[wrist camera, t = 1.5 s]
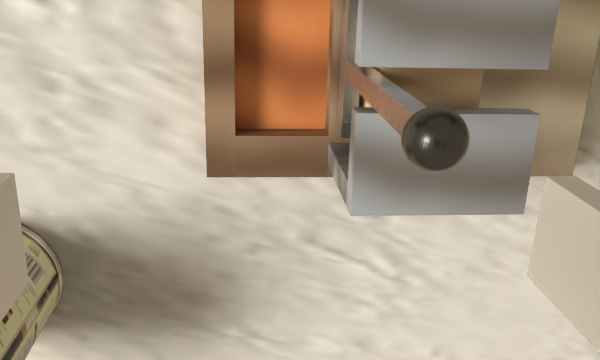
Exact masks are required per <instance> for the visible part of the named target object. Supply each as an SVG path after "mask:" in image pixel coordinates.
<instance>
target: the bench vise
mask: <svg viewBox="0 0 600 360" xmlns="http://www.w3.org/2000/svg"><path fill="white" fill-rule="evenodd" d="M343 1H344V0H202V12H203V49H204V86H205V123H206V159H207V177H334V179H335V181H336V184H337V186H338V188H339V190H340V193H341V195H342V197H343V200H344V202H345V204H346V206H347V209H348V211H349V213H350V215H351V216H386V215H491V214H524V208H525V202H526V197H527V191H528V185H529V179H530V176H573V171H574V166H575V160H576V155H577V150H578V145H579V140H580V135H581V130H582V125H583V120H584V115H585V110H586V104H587V99H588V94H589V89H590V84H591V79H592V74H593V69H594V64H595V59H596V54H597V48H598V43H599V38H600V0H358V15H357V32H356V49H355V63H356V64H357V65H358V66H360V67H406V68H471V69H484V71H483V79H482V86H481V94H480V101H479V108H449V109H451V110H453V111H455V112H456V113H457V114H459V115H460V116H461V117H462V119H463V120H464V121H465V123H466V125H467V127H468V130H469V136H470V142H469V148H468V151H467V153H466V155H465V157H464V158H463V159H462V161H461V162H460V163H459V164H458V165H456V166H455V167H453V168H452V169H450V170H448V171H444V172H440V173H430V172H426V171H423V170H420V169H418V168H417V167H415V166H414V165H412V164H411V163H410V162H409V160H408V159H407V158H406V156H405V154H404V152H403V149H402V144H401V136H400V135H399V134H398V133H397V132H396V131H395V130H394V129H393V128H392V127H391V126H390V125H389V124H388V122H387V121H386V120H385V119H384V118H383V117H382V116H381V115H380V114H379V113H378V112H377V111H376V110H375V109H374V108H373V107H359V105H358V107H352V117H351V134H350V138H341V136H340V135H339V133H338V131H337V118H338V99H339V79H340V59H341V40H342V20H343ZM359 97H360V94H359Z"/></svg>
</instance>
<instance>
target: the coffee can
mask: <svg viewBox="0 0 600 360" xmlns="http://www.w3.org/2000/svg"><path fill="white" fill-rule="evenodd" d="M21 227H22V235H23V242H24V250H25V257H26V264H27V272H28V279H29V283H28V284H27V286H26V287H25V288H24V290H23V291H22V293H21V294H20V295H19V297H18V298H17V300H16V301H15V302H14V304H13V305H12V307H11V308H10V310H9V311H8V312H7V314H6V315H5V317H4V318H3V319H2V321H1V322H0V360H25V358H26V357H27V355H28V353H29V351H30V349H31V348H32V346H33V344H34V342H35V341H36V339H37V337H38V335H39V334H40V332H41V330H42V328H43V327H44V325H45V323H46V321H47V320H48V318H49V316H50V314H51V313H52V312H53V311H54V309H55V308H56V306H57V304H58V302H59V300H60V298H61V293H62V288H63V276H62V270H61V267H60V264H59V262H58V259H57V257H56V255H55V254H54V252H53V251H52V250H51V248H50V247H49V246H48V245H47V243H46V242H45V241H44V240H43V239H42V238H40V237H39V236H38V235H37V234H35V233H34V232H33V231H31V230H29V229H28V228H26V227H24V226H22V225H21Z"/></svg>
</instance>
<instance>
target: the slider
mask: <svg viewBox="0 0 600 360" xmlns="http://www.w3.org/2000/svg"><path fill="white" fill-rule="evenodd" d="M357 15H358V0H344V1H343V20H342V40H341V59H340V79H339V99H338V118H337V131H338V133H339V135H340V136H341V138H350V134H351V117H352V107H358V105H359V94H360V95H361V96H362V97H363V98H364V99H365V100H366V101H367V102H368V103H369V104H370V105H371V106H372V107H373V108H374V109H375V110H376V111H377V112H378V113H379V114H380V115H381V116H382V117H383V118H384V119H385V120H386V121H387V122H388V124H389V125H390V126H391V127H392V128H393V129H394V130H395V131H396V132H397V133H398V134H399V135H400V136H401V144H402V149H403V152H404V154H405V156H406V158H407V159H408V160H409V162H410V163H411V164H412V165H414V166H415V167H417V168H418V169H420V170H423V171H426V172H430V173H440V172H444V171H448V170H450V169H452V168H453V167H455V166H456V165H458V164H459V163H460V162H461V161H462V159H463V158H464V157H465V155H466V153H467V151H468V148H469V142H470V136H469V130H468V127H467V125H466V123H465V121H464V120H463V119H462V117H461V116H460V115H459V114H457V113H456V112H455V111H453V110H451V109H449V108H446V107H442V106H430V107H427V106H425V105H424V104H422V103H421V102H420V101H418V100H417V99H415V98H414V97H413V96H411V95H410V94H408V93H407V92H406V91H404V90H403V89H401V88H400V87H399V86H397V85H396V84H394V83H393V82H392V81H390V80H389V79H387V78H386V77H385V76H383V75H382V74H380V73H379V72H378V71H376V70H375V69H373V68H372V67H360V66H358V65H357V64H356V63H355V49H356V32H357Z"/></svg>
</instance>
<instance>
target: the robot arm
mask: <svg viewBox="0 0 600 360" xmlns="http://www.w3.org/2000/svg"><path fill="white" fill-rule="evenodd" d="M527 277H528V278H529V279H530V280H531V281H532V282H533V283H534V284H535V285H536V286H537V287H538V288H539V289H540V290H541V291H542V292H543V294H544V295H545V296H546V297H547V298H548V299H549V300H550V301H551V302H552V303H553V304H554V305H555V306H556V307H557V308H558V309H559V310H560V312H561V313H562V314H563V315H564V316H565V317H566V318H567V319H568V320H569V321H570V322H571V323H572V324H573V325H574V326H575V327H576V329H577V330H578V331H579V332H580V333H581V334H582V335H583V336H584V337H585V338H586V339H587V340H588V341H589V342H590V343H591V344H592V345H593V347H594V348H595V349H596V350H597V351H598V352H599V353H600V191H599V190H597V189H596V188H594V187H592V186H591V185H589V184H587V183H586V182H584V181H582V180H581V179H579V178H577V177H576V176H546V178H545V183H544V188H543V194H542V199H541V204H540V210H539V215H538V220H537V225H536V231H535V236H534V241H533V247H532V252H531V257H530V263H529V268H528V273H527ZM28 283H29V279H28V272H27V264H26V257H25V250H24V242H23V235H22V227H21V220H20V213H19V205H18V198H17V191H16V183H15V176H14V173H0V322H1V321H2V319H3V318H4V317H5V315H6V314H7V312H8V311H9V310H10V308H11V307H12V305H13V304H14V302H15V301H16V300H17V298H18V297H19V295H20V294H21V293H22V291H23V290H24V288H25V287H26V286H27V284H28Z"/></svg>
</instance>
